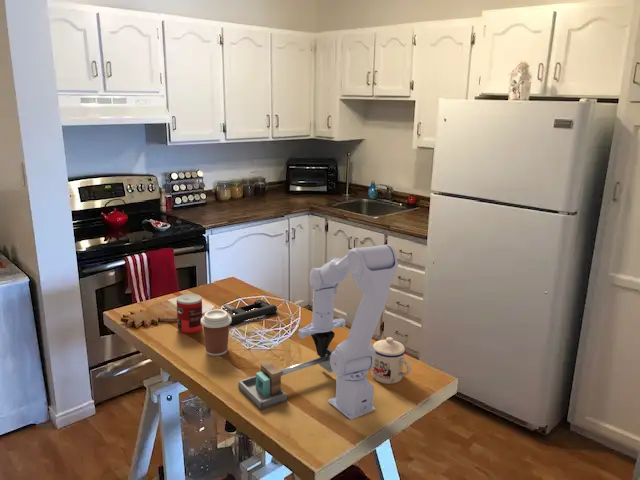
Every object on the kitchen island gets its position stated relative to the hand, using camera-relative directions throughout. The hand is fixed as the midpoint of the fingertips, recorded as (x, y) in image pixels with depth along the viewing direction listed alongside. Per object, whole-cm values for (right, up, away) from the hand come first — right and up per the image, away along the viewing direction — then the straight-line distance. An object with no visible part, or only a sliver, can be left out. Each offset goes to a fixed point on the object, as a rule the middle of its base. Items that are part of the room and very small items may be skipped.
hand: (321, 355), depth 146 cm
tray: (-15, -8, -9) cm, 20 cm away
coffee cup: (-32, -2, +13) cm, 34 cm away
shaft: (-5, -5, -2) cm, 8 cm away
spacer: (-15, -7, -9) cm, 19 cm away
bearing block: (-14, -8, -8) cm, 17 cm away
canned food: (-43, +3, +26) cm, 50 cm away
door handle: (-27, +6, +41) cm, 49 cm away
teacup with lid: (+19, -7, +1) cm, 21 cm away
